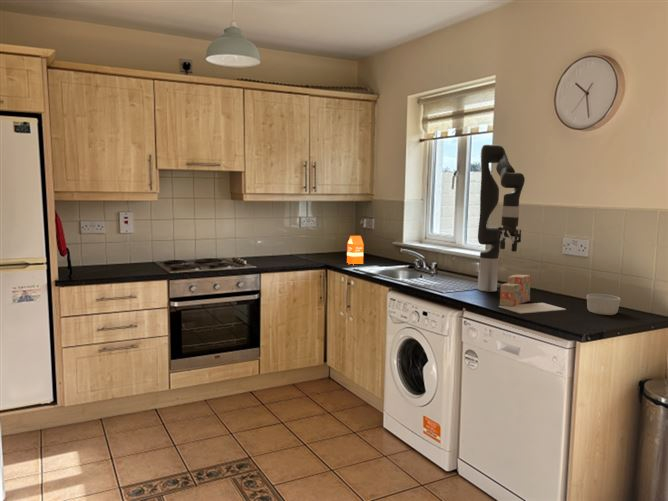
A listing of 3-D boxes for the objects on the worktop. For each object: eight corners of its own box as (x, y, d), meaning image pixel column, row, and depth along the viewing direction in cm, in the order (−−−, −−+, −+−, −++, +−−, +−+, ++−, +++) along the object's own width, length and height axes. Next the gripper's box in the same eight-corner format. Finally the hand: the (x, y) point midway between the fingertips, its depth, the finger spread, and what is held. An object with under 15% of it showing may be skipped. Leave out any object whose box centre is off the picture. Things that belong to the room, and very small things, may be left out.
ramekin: (623, 312, 230) (624, 296, 229) (614, 317, 220) (616, 300, 220) (590, 307, 239) (591, 292, 238) (581, 312, 229) (582, 296, 228)
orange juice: (363, 264, 370) (363, 236, 368) (352, 265, 366) (353, 236, 364) (357, 263, 377) (357, 235, 375) (346, 263, 373) (347, 235, 370)
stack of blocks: (513, 306, 234) (514, 279, 233) (499, 305, 238) (500, 277, 237) (530, 300, 251) (530, 274, 250) (516, 299, 255) (517, 273, 254)
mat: (498, 306, 236) (498, 305, 236) (542, 303, 245) (542, 302, 245) (520, 313, 223) (520, 312, 223) (565, 309, 232) (566, 309, 232)
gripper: (494, 214, 253) (492, 248, 255) (513, 216, 240) (511, 252, 242) (507, 214, 255) (505, 248, 257) (527, 216, 242) (524, 252, 244)
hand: (508, 250), depth 250 cm, fingers open, 8 cm apart
